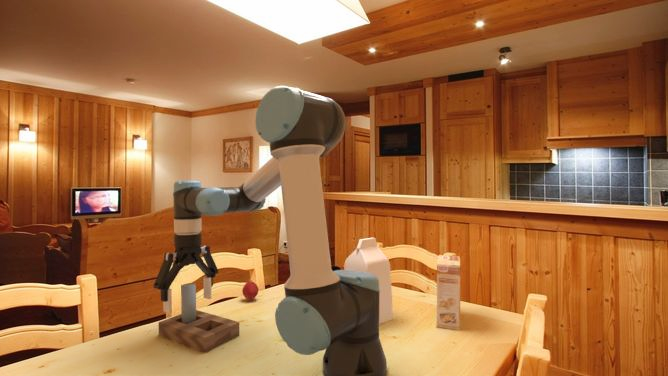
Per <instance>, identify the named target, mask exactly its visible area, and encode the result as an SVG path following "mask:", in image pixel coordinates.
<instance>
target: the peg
mask: <svg viewBox="0 0 668 376" xmlns="http://www.w3.org/2000/svg"><path fill="white" fill-rule="evenodd" d="M180 286H181V287H180V291H181V292H180V293H181V298H180V299H181V301H180V302H181V304H180V305H181V308H180V309H181V313H180V314H181V315H182V323H184V324H189V323H191V322H194V321H196V310H197V284H196V283H185V284H181V285H180Z"/></svg>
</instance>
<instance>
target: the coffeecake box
mask: <svg viewBox="0 0 668 376" xmlns="http://www.w3.org/2000/svg"><path fill="white" fill-rule="evenodd" d="M461 272H462V271H461V257H460V255H446V254H444V255H443V254H439V255H438V257H437V263H436V328H443V329H449V330H453V331H454V330H455V331H461Z"/></svg>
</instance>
